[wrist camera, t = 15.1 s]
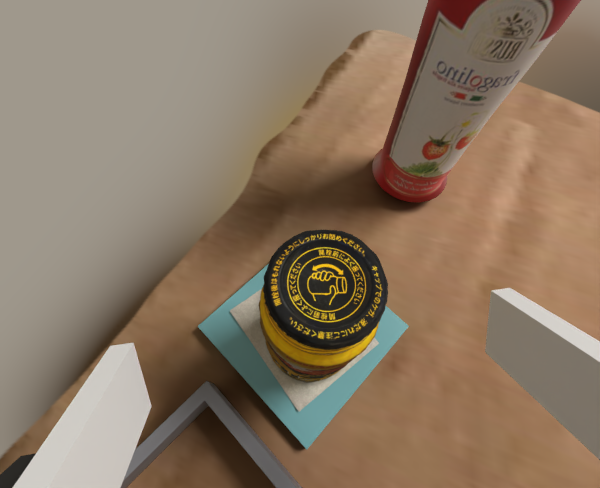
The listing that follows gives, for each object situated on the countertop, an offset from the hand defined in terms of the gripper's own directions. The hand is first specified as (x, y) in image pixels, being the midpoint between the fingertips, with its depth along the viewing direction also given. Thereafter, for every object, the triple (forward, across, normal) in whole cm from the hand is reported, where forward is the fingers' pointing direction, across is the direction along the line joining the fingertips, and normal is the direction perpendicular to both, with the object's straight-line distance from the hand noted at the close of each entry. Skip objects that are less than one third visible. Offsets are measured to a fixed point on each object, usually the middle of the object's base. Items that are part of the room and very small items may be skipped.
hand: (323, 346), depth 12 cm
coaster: (+12, 0, -7) cm, 13 cm away
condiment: (+11, 0, -6) cm, 13 cm away
